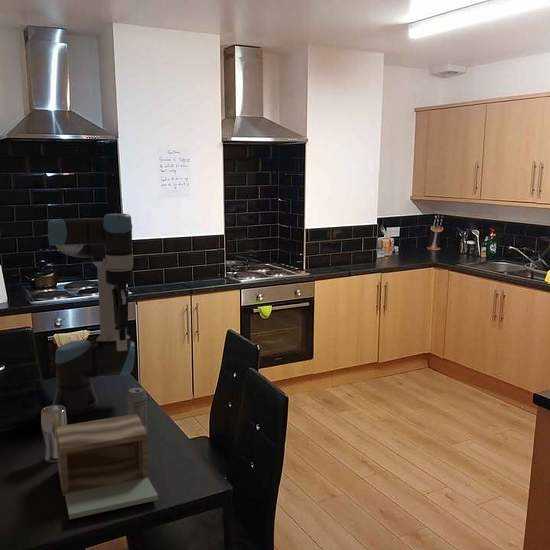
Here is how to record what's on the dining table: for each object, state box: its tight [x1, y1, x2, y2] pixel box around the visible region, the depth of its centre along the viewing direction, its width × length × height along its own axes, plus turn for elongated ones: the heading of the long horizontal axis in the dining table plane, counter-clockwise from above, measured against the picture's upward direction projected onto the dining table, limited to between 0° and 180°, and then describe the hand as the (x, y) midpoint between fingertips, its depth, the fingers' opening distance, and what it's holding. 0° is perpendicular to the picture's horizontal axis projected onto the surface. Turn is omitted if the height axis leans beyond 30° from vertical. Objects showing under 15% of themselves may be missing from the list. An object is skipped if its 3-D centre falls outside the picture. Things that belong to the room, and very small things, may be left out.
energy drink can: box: [126, 386, 148, 433], centre depth 184 cm, size 6×6×15 cm
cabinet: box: [56, 414, 150, 497], centre depth 158 cm, size 14×22×14 cm, turn 114°
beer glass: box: [40, 404, 68, 464], centre depth 168 cm, size 7×7×15 cm
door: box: [64, 477, 159, 520], centre depth 146 cm, size 2×21×12 cm
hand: (122, 349), depth 166 cm, fingers closed
